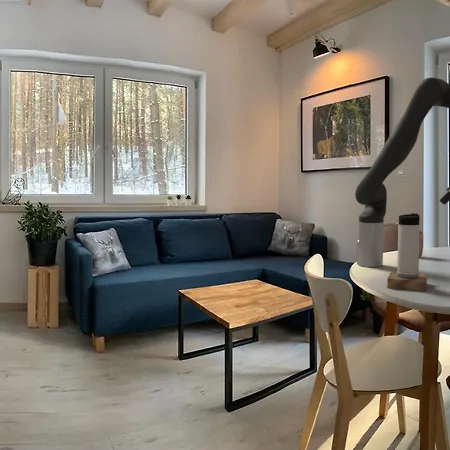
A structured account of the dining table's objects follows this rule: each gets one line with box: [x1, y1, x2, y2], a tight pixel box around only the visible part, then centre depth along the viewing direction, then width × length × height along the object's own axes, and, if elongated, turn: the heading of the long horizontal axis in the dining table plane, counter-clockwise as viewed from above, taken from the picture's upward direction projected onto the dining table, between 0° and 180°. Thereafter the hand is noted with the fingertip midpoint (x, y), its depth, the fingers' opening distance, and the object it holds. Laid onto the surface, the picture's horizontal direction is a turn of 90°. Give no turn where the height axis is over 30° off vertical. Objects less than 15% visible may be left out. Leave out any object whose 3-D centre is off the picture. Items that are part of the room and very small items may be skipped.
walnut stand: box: [386, 271, 428, 292], centre depth 146 cm, size 11×11×3 cm
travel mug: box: [396, 212, 421, 278], centre depth 145 cm, size 6×7×20 cm
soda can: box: [419, 228, 424, 258], centre depth 199 cm, size 7×7×12 cm
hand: (447, 203), depth 143 cm, fingers open, 8 cm apart
